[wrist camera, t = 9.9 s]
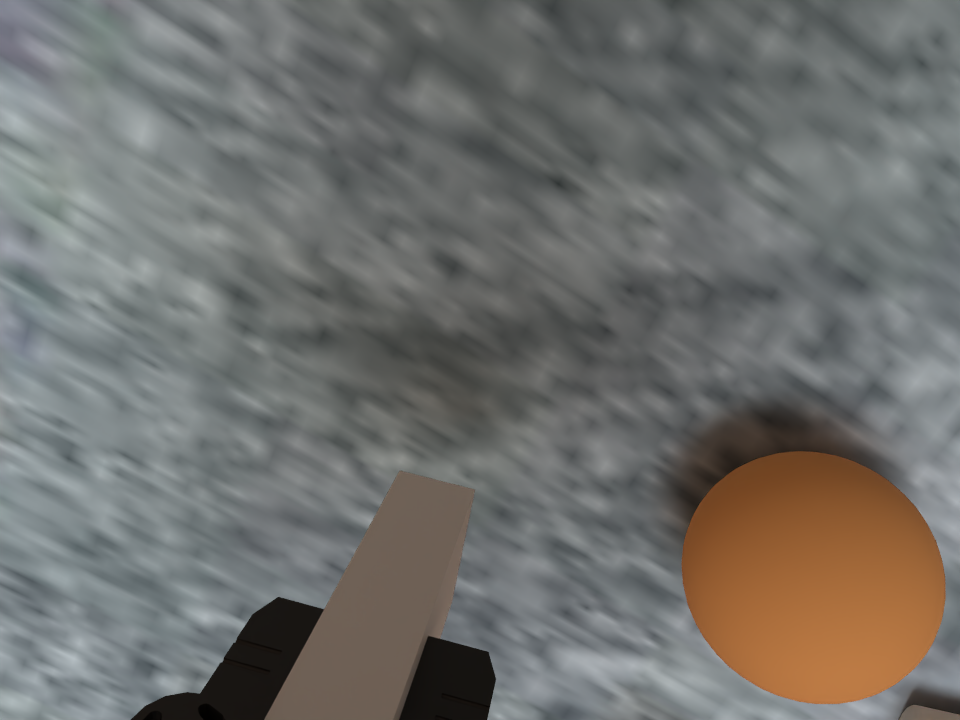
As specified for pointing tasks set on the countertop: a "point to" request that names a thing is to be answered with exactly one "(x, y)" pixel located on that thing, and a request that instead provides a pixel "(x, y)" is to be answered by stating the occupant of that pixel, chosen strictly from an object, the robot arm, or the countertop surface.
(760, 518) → the ball
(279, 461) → the countertop surface
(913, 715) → the pin
